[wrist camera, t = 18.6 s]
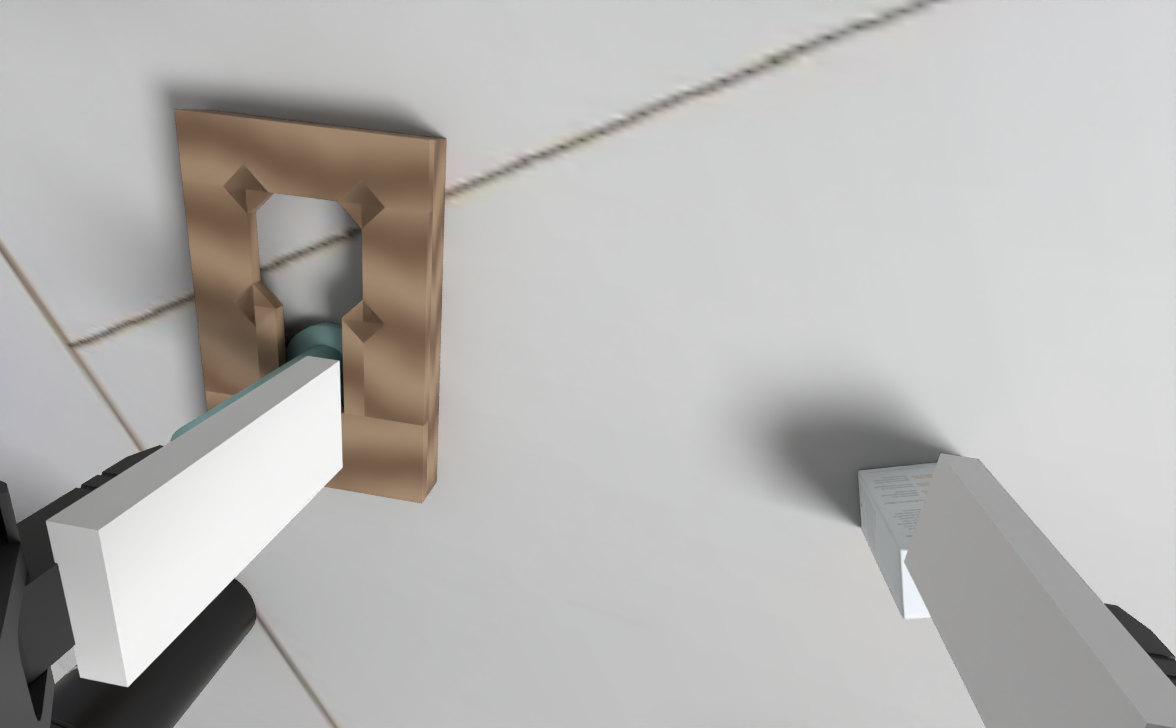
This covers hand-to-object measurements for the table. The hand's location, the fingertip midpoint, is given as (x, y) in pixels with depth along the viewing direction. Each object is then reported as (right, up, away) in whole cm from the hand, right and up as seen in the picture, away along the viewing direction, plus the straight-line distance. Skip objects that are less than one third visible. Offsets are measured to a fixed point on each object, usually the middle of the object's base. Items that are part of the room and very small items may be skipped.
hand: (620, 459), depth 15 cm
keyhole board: (-21, +6, +38) cm, 44 cm away
